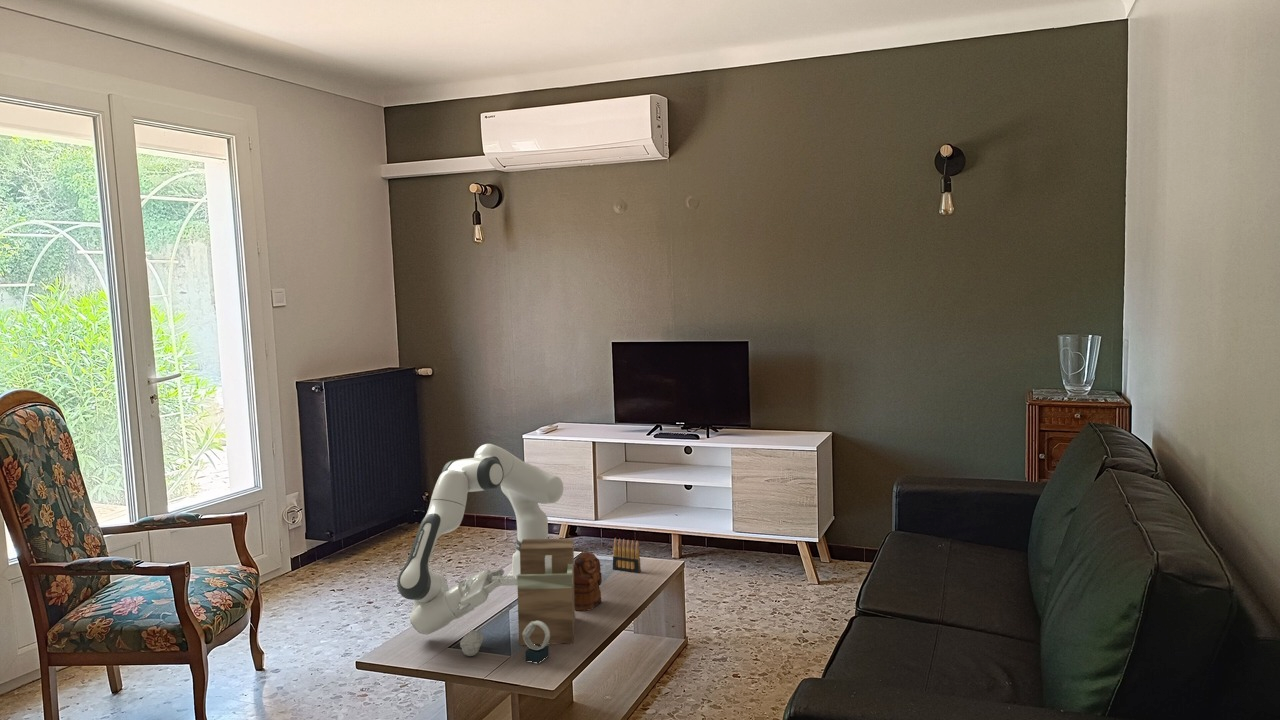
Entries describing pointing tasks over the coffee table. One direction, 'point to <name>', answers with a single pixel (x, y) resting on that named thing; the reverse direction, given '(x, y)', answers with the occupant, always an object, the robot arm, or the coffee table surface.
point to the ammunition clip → (626, 557)
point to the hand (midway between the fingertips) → (501, 576)
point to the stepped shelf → (547, 589)
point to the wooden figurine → (587, 581)
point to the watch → (537, 650)
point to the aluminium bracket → (513, 579)
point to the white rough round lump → (471, 643)
